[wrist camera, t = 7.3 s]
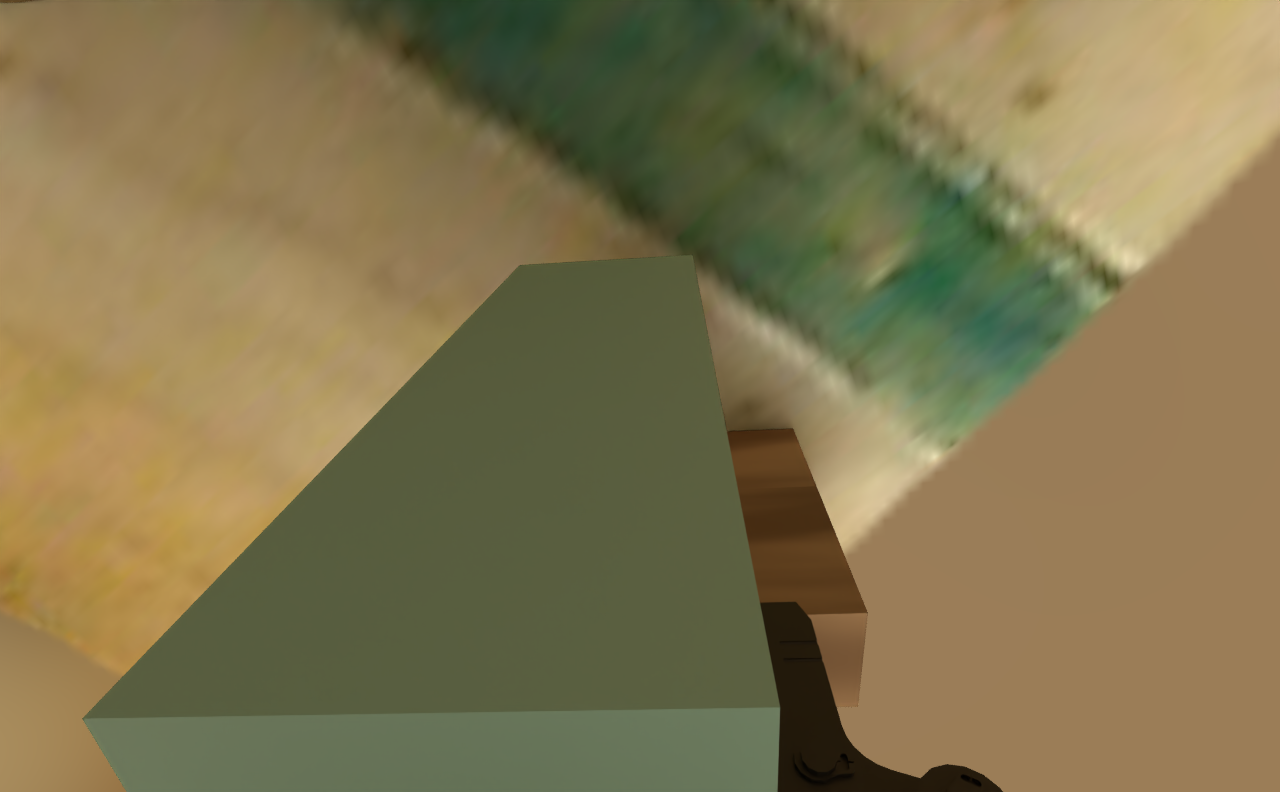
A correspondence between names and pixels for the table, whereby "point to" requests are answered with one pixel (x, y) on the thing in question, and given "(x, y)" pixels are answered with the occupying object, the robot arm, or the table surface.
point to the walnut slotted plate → (800, 551)
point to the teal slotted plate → (490, 579)
